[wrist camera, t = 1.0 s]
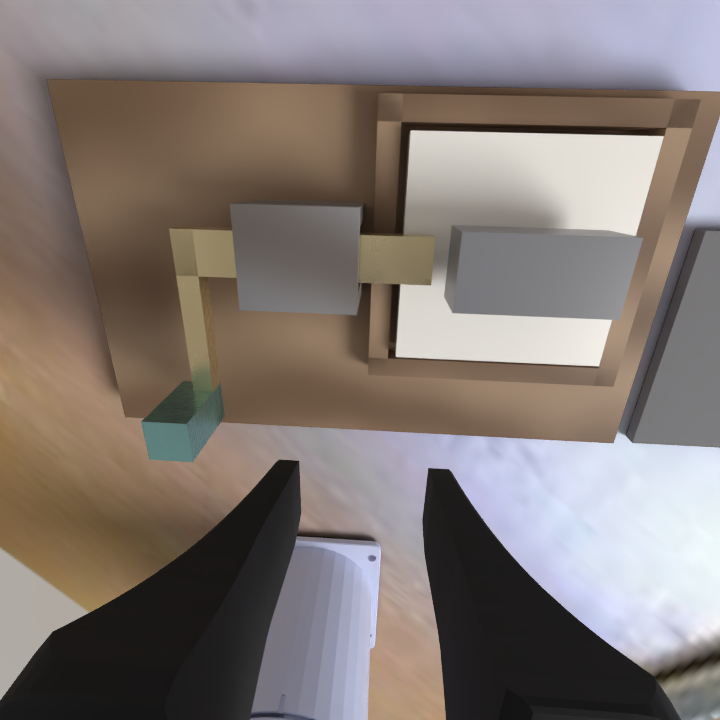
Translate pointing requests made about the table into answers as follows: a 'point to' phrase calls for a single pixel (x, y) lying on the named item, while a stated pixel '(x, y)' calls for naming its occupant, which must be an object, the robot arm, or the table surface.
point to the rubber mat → (686, 358)
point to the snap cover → (522, 243)
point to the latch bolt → (204, 394)
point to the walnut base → (347, 159)
